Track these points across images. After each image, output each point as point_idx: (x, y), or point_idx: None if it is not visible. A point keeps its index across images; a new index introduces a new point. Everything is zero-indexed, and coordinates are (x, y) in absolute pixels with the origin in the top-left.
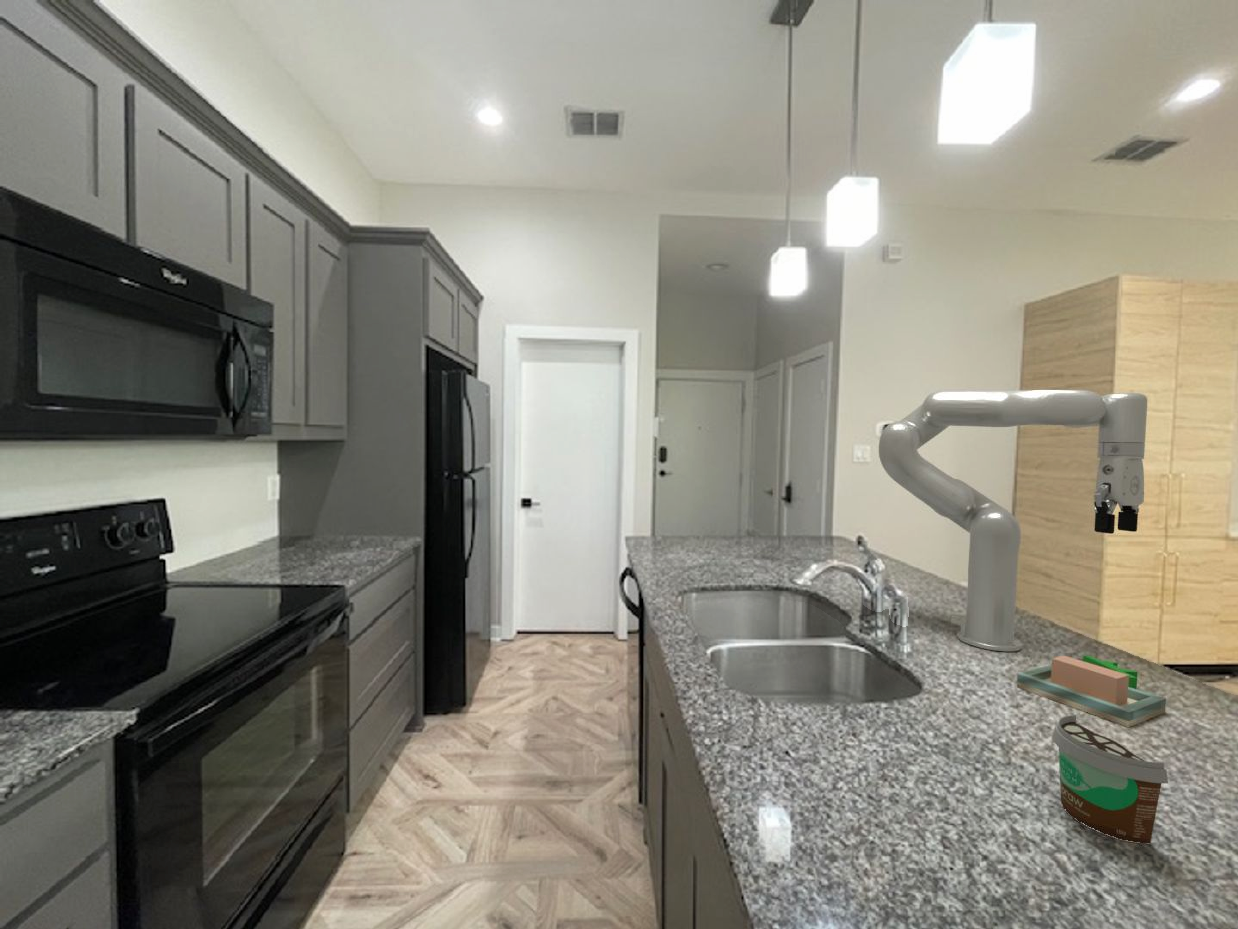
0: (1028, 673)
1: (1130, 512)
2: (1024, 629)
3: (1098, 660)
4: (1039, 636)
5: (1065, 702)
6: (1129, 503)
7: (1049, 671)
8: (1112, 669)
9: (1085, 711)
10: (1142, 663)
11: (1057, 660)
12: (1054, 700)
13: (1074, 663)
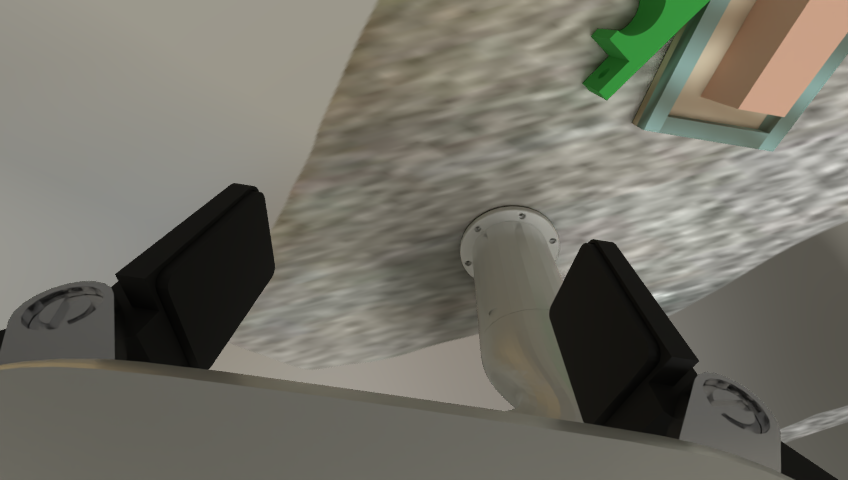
0: (756, 140)
1: (162, 325)
2: (358, 240)
3: (629, 65)
4: (378, 214)
5: None
6: (610, 453)
7: (703, 122)
8: (685, 22)
9: None
10: (374, 37)
11: (791, 105)
12: None
13: (800, 73)
